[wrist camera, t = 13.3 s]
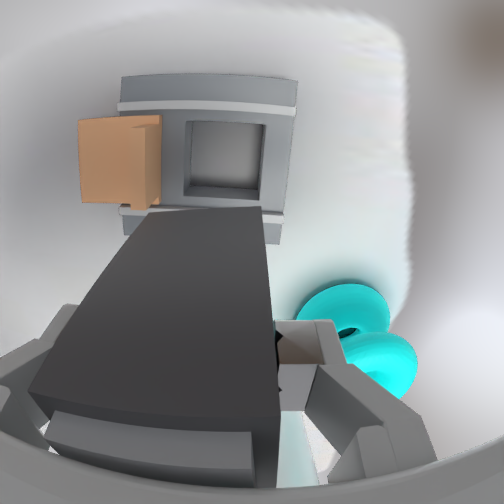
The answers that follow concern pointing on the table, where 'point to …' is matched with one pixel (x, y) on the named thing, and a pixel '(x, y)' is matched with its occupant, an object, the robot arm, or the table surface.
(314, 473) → the drinking glass
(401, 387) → the donuts
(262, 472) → the plug
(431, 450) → the robot arm
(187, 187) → the socket plate
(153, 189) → the block
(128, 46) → the table surface
